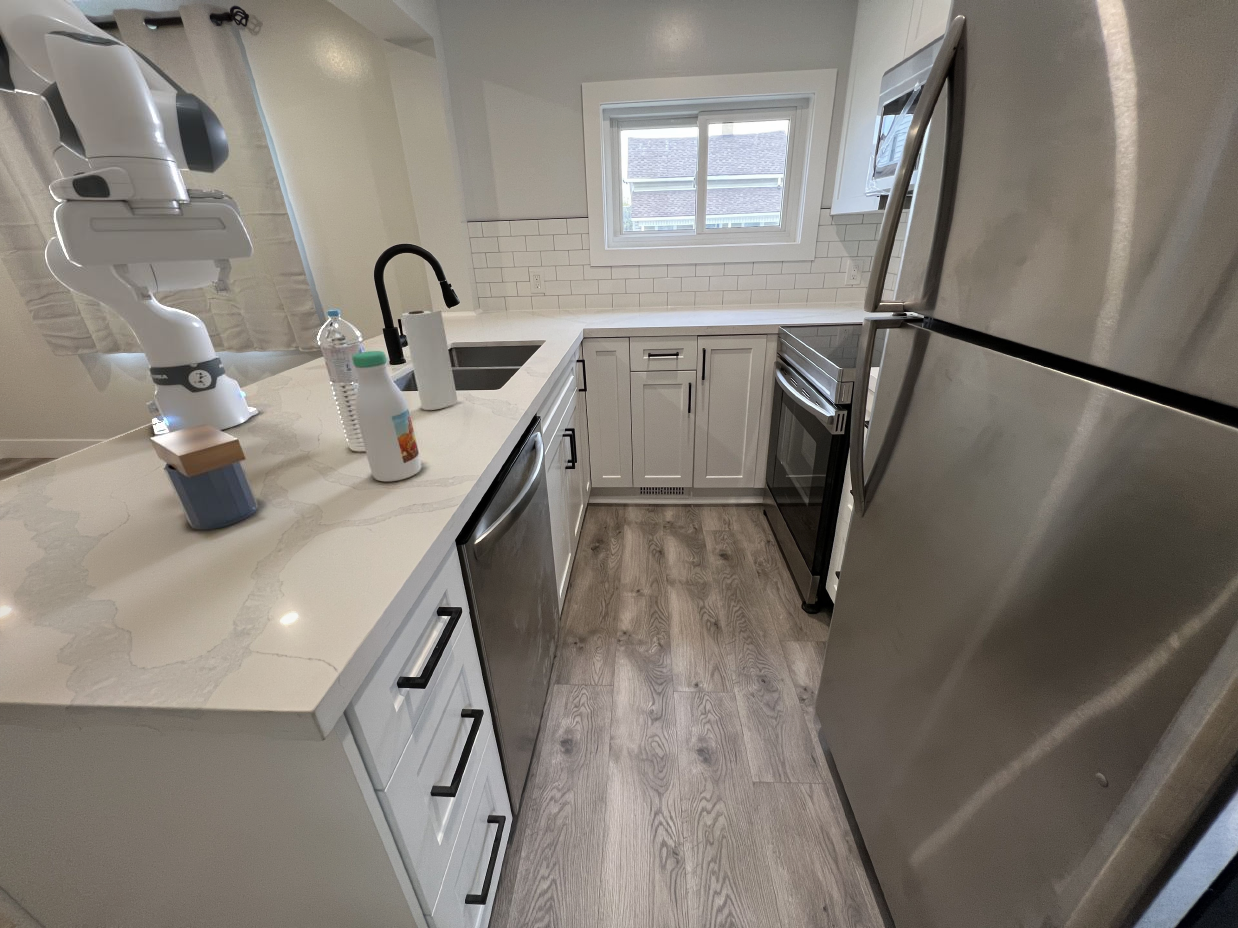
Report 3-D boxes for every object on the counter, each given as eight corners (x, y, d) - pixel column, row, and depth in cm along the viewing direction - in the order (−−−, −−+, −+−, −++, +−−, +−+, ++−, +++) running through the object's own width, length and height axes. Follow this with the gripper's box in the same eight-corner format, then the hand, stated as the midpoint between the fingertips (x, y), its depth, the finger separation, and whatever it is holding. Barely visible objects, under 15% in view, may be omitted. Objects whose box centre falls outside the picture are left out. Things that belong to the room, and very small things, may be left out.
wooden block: (158, 457, 69) (149, 437, 68) (213, 442, 74) (205, 423, 73) (188, 477, 63) (178, 456, 62) (246, 459, 68) (238, 439, 66)
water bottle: (373, 453, 91) (335, 313, 81) (341, 452, 92) (300, 313, 82) (395, 439, 97) (363, 307, 87) (365, 438, 99) (329, 307, 88)
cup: (182, 519, 71) (155, 462, 68) (245, 496, 77) (223, 443, 73) (202, 536, 67) (175, 476, 63) (267, 510, 73) (245, 454, 69)
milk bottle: (392, 486, 78) (359, 361, 70) (363, 476, 82) (328, 356, 74) (431, 468, 84) (406, 350, 76) (403, 459, 88) (375, 346, 80)
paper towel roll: (416, 410, 114) (395, 314, 105) (430, 402, 119) (410, 310, 110) (445, 411, 112) (426, 313, 103) (458, 403, 118) (441, 309, 109)
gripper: (225, 192, 75) (256, 288, 81) (30, 186, 60) (85, 304, 66) (242, 189, 72) (273, 289, 78) (39, 181, 57) (97, 306, 63)
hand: (185, 296), depth 72 cm, fingers open, 8 cm apart
